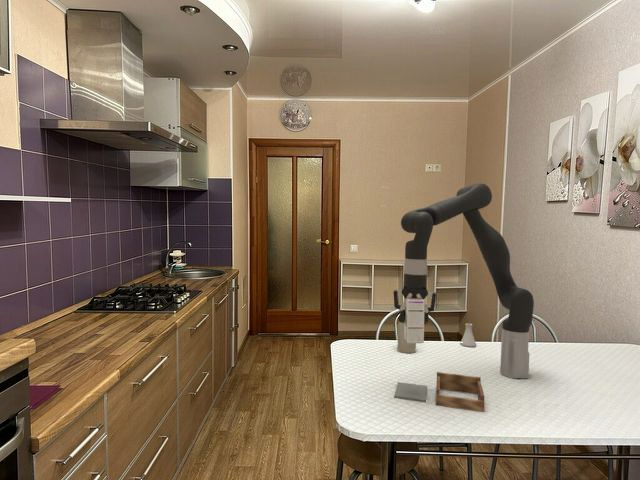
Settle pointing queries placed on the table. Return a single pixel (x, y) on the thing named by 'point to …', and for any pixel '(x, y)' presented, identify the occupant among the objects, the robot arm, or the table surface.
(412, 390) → the mat
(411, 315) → the syrup box
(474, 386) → the frame
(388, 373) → the table surface
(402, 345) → the travel mug
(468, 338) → the flask
